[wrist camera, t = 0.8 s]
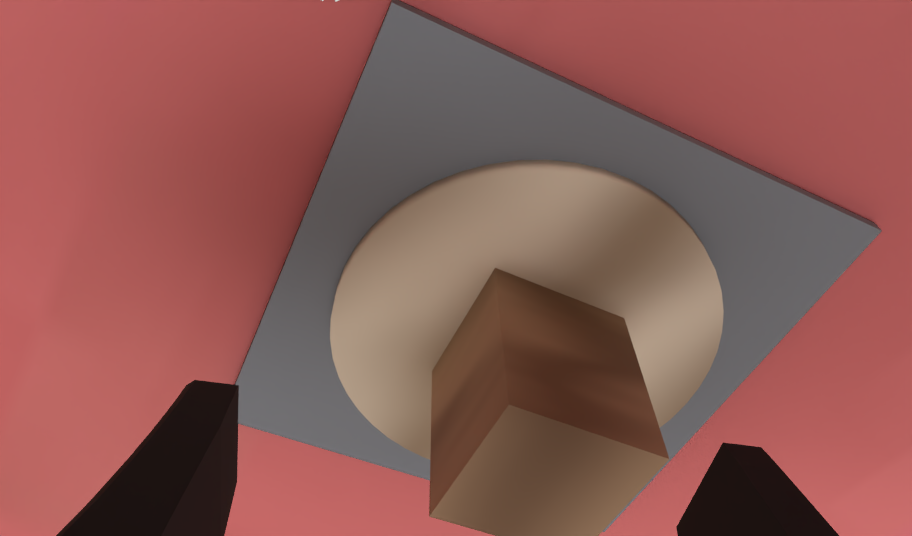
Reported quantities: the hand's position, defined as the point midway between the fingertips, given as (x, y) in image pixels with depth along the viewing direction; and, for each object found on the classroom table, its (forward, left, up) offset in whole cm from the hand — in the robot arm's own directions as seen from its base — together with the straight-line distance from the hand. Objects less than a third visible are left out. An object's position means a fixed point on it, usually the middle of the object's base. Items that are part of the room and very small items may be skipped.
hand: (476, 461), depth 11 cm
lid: (-4, +4, -9) cm, 11 cm away
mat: (-4, +4, -10) cm, 11 cm away
